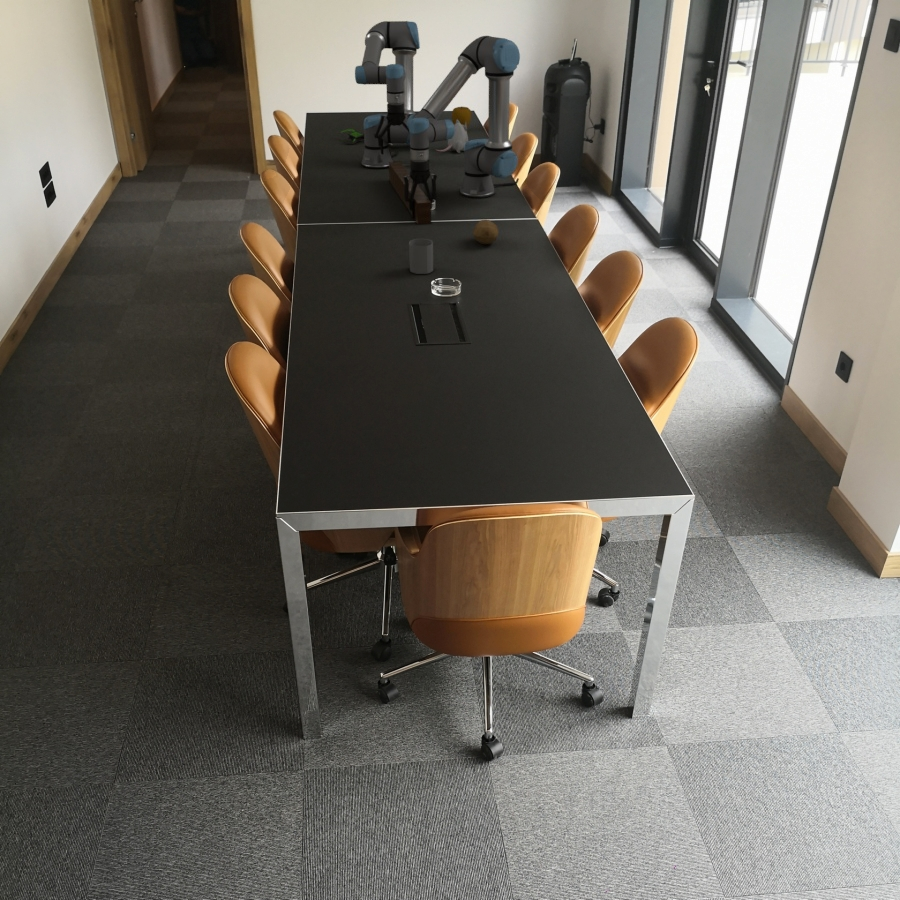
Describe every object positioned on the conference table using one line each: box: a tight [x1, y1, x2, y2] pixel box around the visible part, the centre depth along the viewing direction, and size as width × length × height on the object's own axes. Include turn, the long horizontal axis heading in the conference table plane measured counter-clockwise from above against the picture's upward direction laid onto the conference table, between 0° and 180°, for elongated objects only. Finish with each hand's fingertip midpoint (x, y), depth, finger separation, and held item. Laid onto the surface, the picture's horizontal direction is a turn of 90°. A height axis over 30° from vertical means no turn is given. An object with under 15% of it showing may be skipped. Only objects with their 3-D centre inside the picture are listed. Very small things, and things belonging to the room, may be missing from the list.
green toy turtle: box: [338, 128, 364, 145], centre depth 467 cm, size 6×13×30 cm
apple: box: [451, 105, 472, 129], centre depth 487 cm, size 11×11×13 cm
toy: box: [436, 120, 469, 154], centre depth 444 cm, size 9×24×15 cm, turn 137°
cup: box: [408, 237, 434, 275], centre depth 305 cm, size 8×8×10 cm
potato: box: [472, 219, 499, 245], centre depth 330 cm, size 10×14×8 cm
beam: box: [388, 161, 432, 225], centre depth 376 cm, size 65×6×9 cm, turn 14°
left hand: (397, 152), depth 391 cm, fingers open, 13 cm apart
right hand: (420, 217), depth 357 cm, fingers closed on beam, 5 cm apart
